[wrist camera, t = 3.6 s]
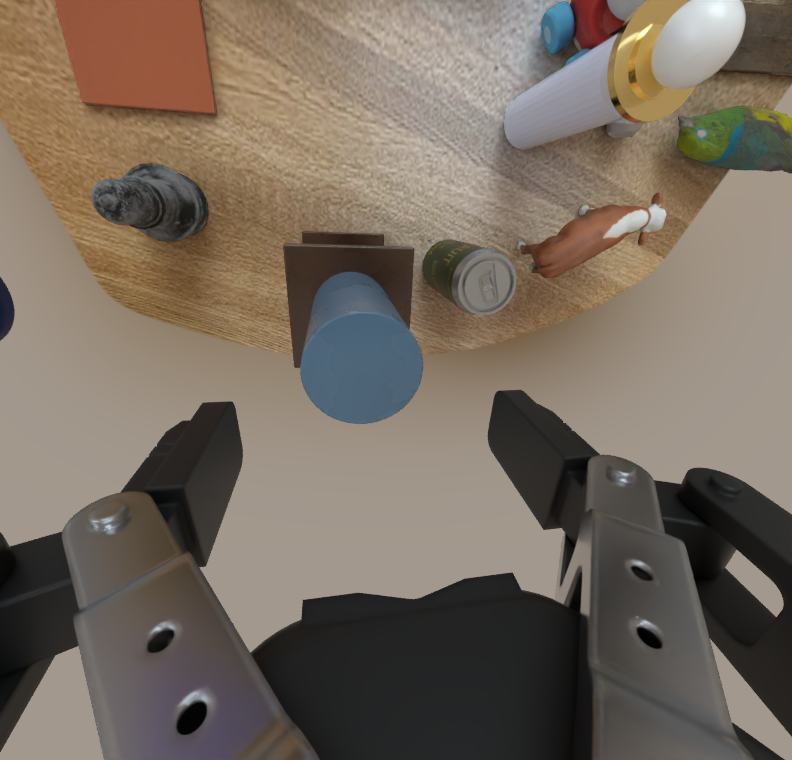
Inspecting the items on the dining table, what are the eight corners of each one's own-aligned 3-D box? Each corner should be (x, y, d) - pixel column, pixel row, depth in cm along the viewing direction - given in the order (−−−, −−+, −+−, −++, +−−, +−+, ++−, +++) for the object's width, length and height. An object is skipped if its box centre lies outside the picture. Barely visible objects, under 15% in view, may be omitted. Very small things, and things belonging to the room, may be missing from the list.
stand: (308, 310, 39) (294, 368, 24) (302, 231, 35) (282, 244, 21) (380, 310, 40) (407, 365, 26) (382, 233, 36) (414, 247, 22)
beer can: (473, 278, 40) (525, 302, 29) (430, 297, 40) (466, 328, 29) (460, 230, 38) (511, 237, 27) (414, 251, 38) (446, 267, 27)
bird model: (710, 87, 31) (690, 153, 33) (886, 113, 34) (858, 173, 36) (663, 108, 36) (647, 164, 38) (819, 129, 39) (797, 181, 40)
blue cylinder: (315, 347, 24) (304, 427, 15) (310, 271, 22) (294, 311, 13) (388, 345, 25) (419, 421, 16) (390, 272, 23) (427, 311, 14)
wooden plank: (857, 9, 34) (833, 75, 36) (840, 17, 35) (817, 80, 37) (703, -2, 32) (687, 68, 34) (691, 6, 33) (675, 73, 35)
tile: (86, 104, 29) (81, 102, 28) (48, -33, 25) (42, -39, 25) (217, 115, 30) (215, 113, 30) (198, -13, 27) (195, -18, 26)
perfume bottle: (514, 171, 36) (694, 132, 18) (483, 118, 33) (656, 10, 16) (561, 128, 35) (800, 40, 17) (532, 69, 32) (778, -105, 15)
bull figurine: (620, 227, 40) (684, 231, 33) (512, 277, 41) (551, 291, 33) (617, 187, 38) (683, 181, 31) (503, 239, 39) (542, 246, 31)
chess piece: (127, 177, 31) (20, 159, 20) (193, 160, 31) (120, 134, 21) (162, 246, 34) (84, 262, 23) (222, 230, 34) (172, 238, 23)
